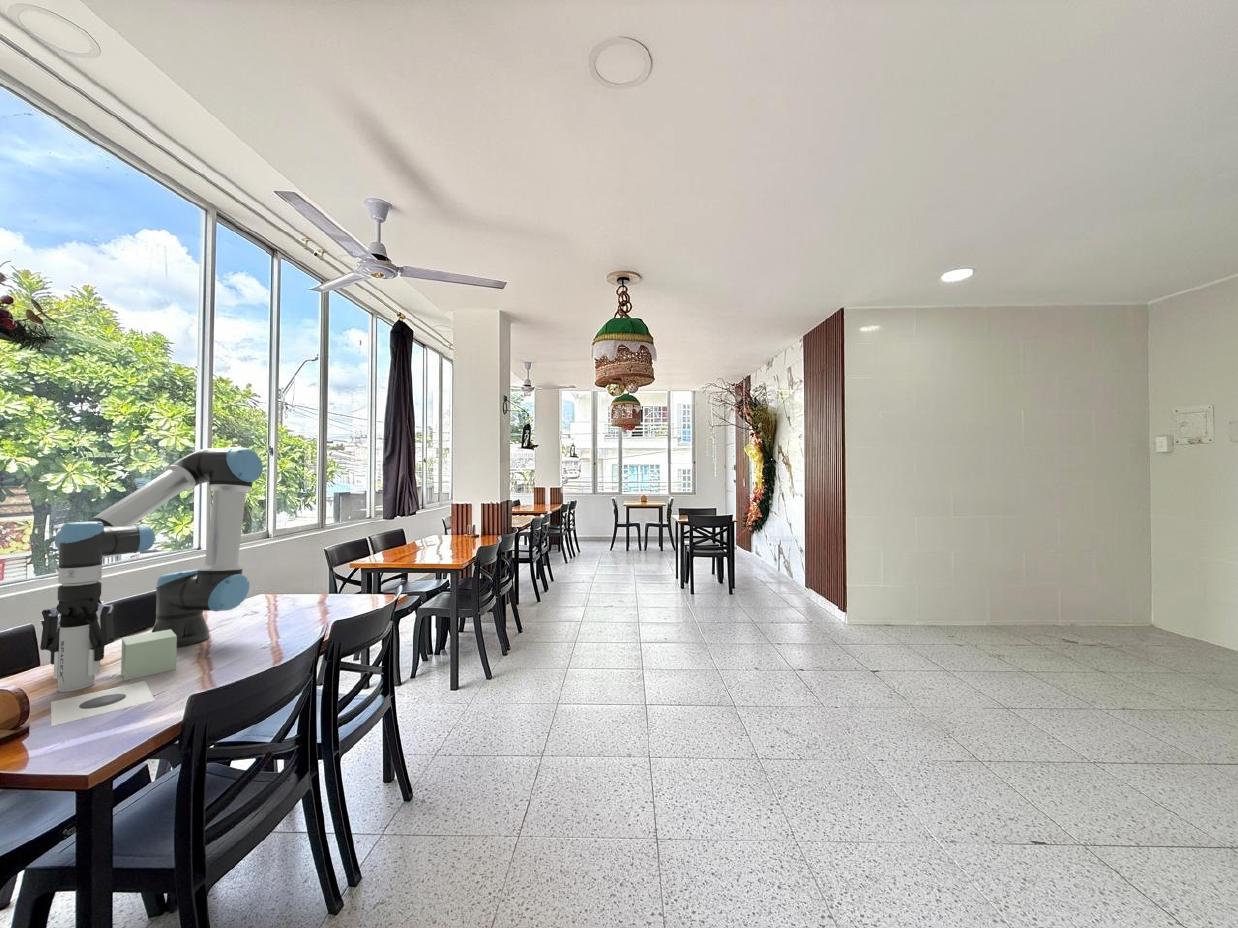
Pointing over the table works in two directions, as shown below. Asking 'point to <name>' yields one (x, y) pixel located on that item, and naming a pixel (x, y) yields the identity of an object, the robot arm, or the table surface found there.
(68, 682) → the travel mug
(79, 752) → the table surface
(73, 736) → the table surface
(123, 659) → the mint green block
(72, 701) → the board
